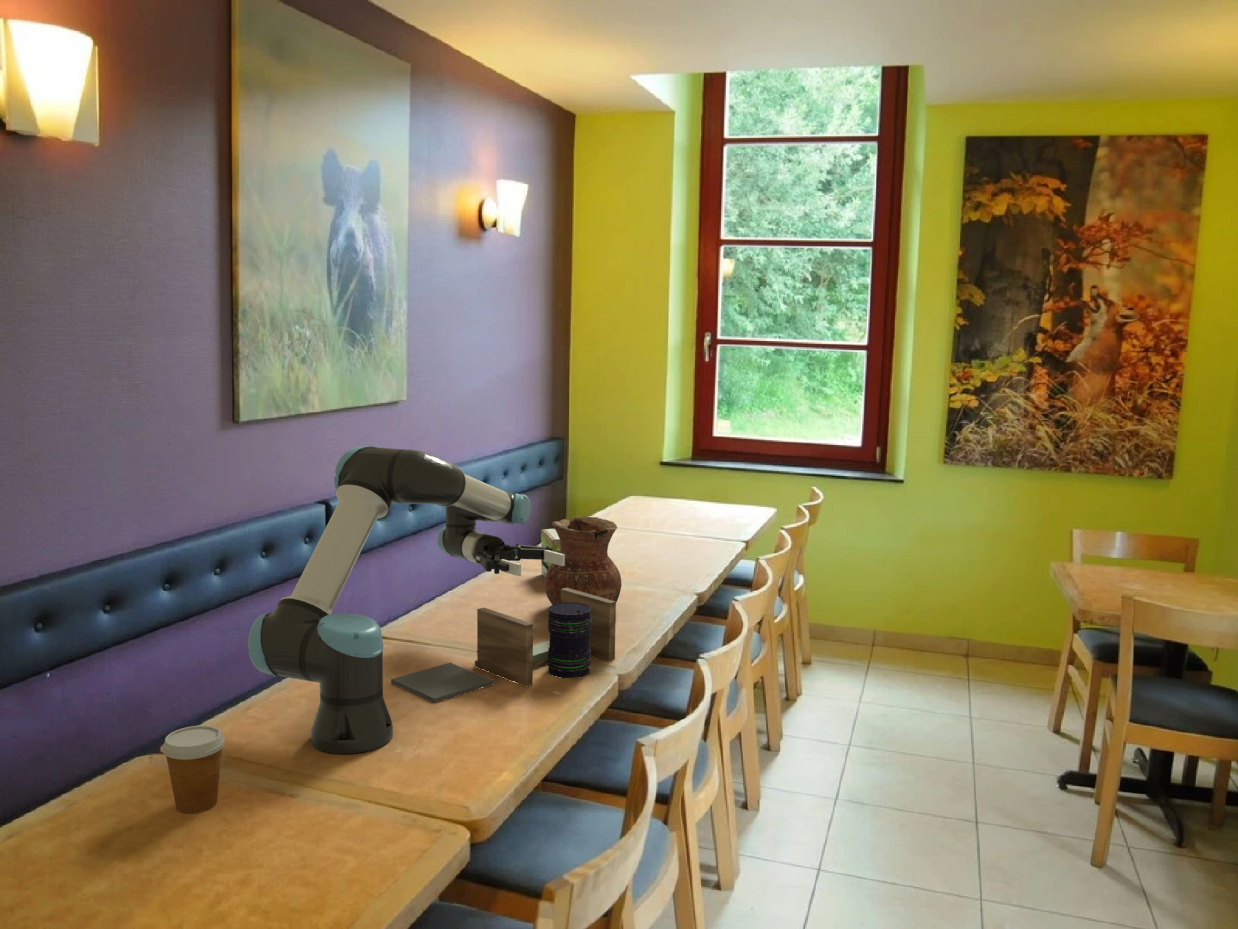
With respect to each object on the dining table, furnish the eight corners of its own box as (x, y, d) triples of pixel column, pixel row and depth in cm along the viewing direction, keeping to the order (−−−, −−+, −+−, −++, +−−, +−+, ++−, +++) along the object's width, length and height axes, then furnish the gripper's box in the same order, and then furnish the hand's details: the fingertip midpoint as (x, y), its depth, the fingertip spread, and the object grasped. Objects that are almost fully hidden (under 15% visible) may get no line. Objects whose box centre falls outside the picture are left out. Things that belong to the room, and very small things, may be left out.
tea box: (540, 574, 325) (540, 528, 323) (571, 572, 328) (571, 526, 326) (551, 586, 311) (551, 538, 309) (583, 584, 314) (584, 536, 312)
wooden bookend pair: (525, 687, 227) (526, 625, 225) (474, 667, 240) (474, 608, 238) (614, 658, 247) (615, 601, 245) (563, 641, 260) (564, 586, 258)
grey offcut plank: (531, 663, 239) (531, 656, 239) (516, 658, 243) (516, 651, 242) (565, 652, 247) (565, 645, 247) (549, 647, 251) (549, 640, 250)
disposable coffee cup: (205, 822, 165) (202, 750, 164) (152, 815, 167) (149, 744, 166) (238, 795, 175) (236, 727, 173) (188, 789, 177) (185, 722, 175)
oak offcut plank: (529, 672, 238) (529, 665, 238) (512, 666, 242) (512, 659, 242) (567, 660, 247) (567, 653, 247) (549, 654, 251) (550, 647, 251)
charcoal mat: (434, 703, 217) (434, 698, 217) (391, 683, 228) (391, 679, 228) (494, 684, 229) (494, 680, 228) (450, 666, 239) (450, 662, 239)
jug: (632, 618, 280) (634, 527, 276) (558, 625, 272) (559, 532, 269) (603, 597, 300) (605, 512, 297) (534, 603, 293) (534, 516, 289)
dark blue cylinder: (538, 670, 238) (539, 607, 236) (570, 661, 245) (571, 599, 243) (567, 682, 231) (568, 617, 229) (599, 672, 238) (600, 609, 236)
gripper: (523, 555, 266) (580, 571, 251) (443, 572, 248) (500, 590, 233) (523, 527, 264) (580, 541, 250) (443, 542, 247) (500, 558, 232)
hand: (542, 565), depth 242 cm, fingers open, 13 cm apart
